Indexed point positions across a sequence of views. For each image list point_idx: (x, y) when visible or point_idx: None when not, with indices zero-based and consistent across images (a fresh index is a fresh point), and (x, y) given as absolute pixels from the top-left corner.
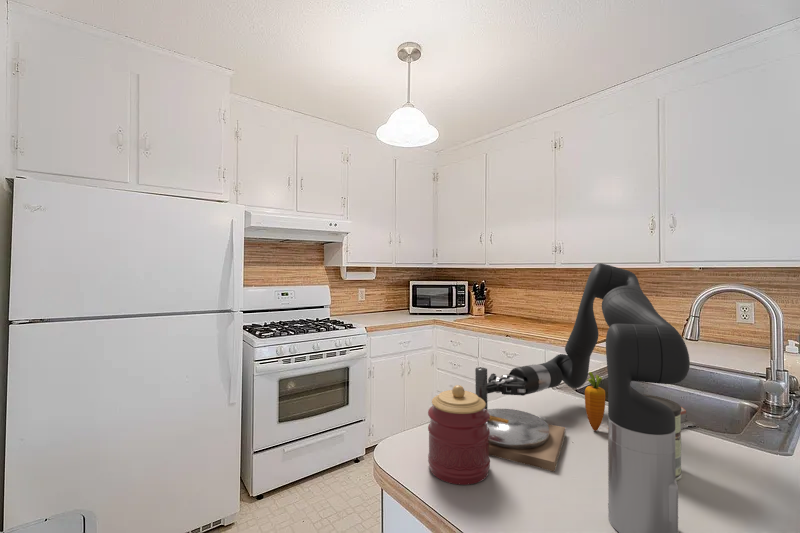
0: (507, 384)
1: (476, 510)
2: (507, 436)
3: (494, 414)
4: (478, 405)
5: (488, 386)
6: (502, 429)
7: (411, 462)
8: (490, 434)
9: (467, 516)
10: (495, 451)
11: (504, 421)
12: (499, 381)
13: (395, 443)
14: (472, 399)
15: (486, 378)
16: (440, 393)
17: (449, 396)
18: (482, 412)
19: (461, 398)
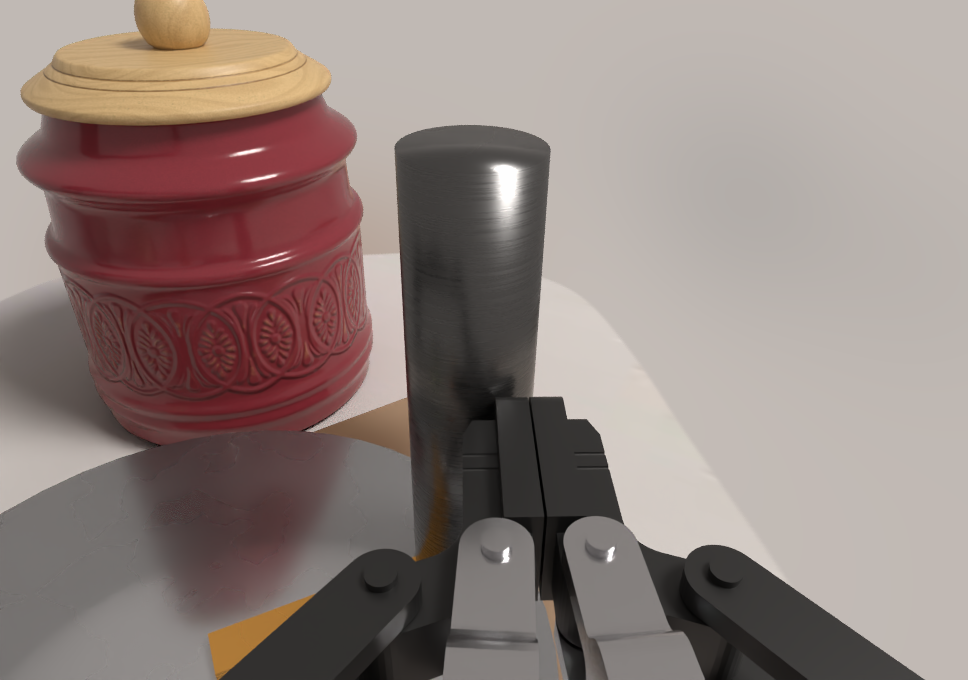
0: (351, 636)
1: (48, 316)
2: (83, 498)
3: None
4: (41, 72)
5: (497, 445)
6: (169, 533)
7: (393, 296)
8: (194, 439)
9: (60, 295)
10: None
11: (233, 626)
12: (590, 660)
13: (549, 303)
14: (84, 51)
15: (401, 257)
16: (277, 36)
17: (212, 37)
18: (41, 125)
19: (144, 43)
